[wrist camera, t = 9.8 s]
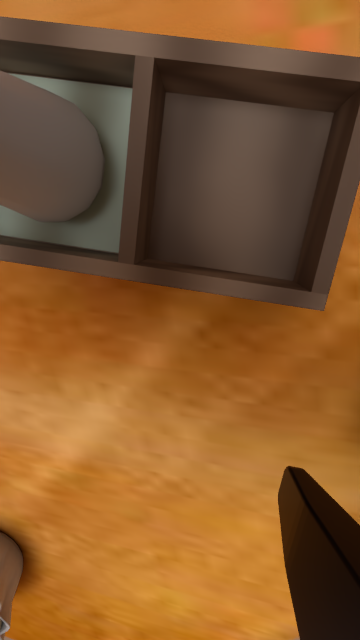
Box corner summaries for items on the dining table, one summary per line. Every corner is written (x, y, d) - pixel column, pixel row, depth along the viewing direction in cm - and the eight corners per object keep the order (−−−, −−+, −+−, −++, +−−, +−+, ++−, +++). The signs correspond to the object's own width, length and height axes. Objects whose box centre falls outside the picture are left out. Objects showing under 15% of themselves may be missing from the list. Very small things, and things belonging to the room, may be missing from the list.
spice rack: (346, 104, 17) (392, 61, 13) (299, 293, 20) (323, 311, 15) (-166, 41, 18) (-281, -16, 14) (-141, 225, 21) (-231, 224, 17)
